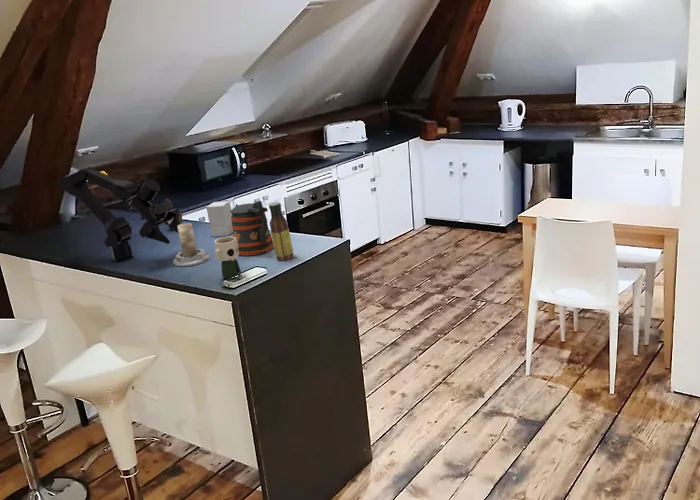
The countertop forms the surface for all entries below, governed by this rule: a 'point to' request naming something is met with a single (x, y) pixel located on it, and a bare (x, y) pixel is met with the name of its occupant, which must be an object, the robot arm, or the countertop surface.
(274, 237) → the sauce bottle
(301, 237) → the countertop surface
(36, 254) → the countertop surface
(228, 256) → the character mug
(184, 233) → the knob post
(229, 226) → the supplement box
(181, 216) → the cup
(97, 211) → the robot arm
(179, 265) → the socket ring
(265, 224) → the beer stein
